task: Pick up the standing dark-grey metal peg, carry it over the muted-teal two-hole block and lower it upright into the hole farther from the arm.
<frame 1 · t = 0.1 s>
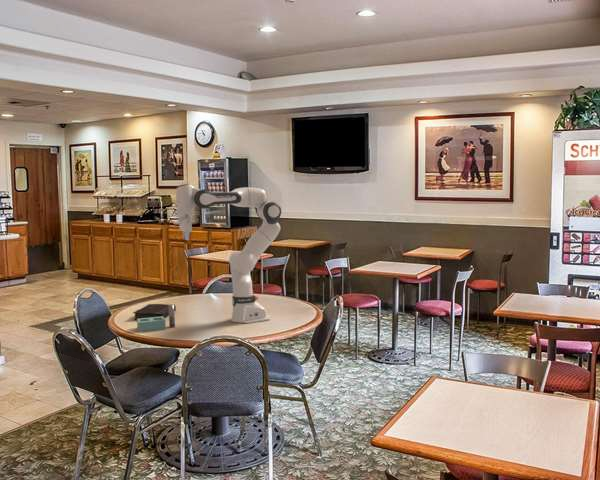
hand: (186, 239, 313), 48 cm above the table, fingers open, 8 cm apart
hole block: (151, 328, 312), on the table
peg: (172, 326, 315), on the table
diary: (154, 316, 344), on the table
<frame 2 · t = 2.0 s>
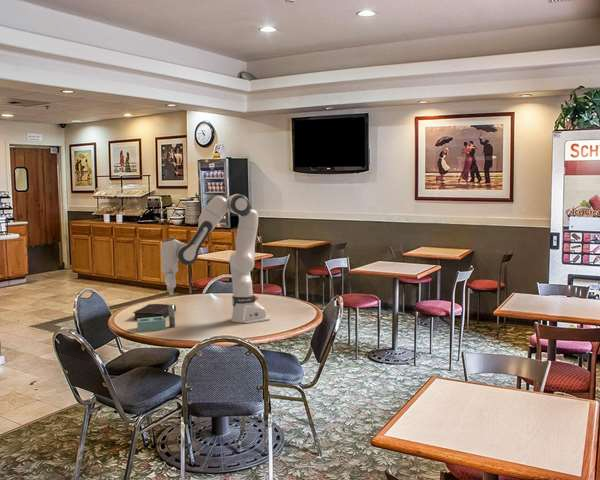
hand: (170, 293, 313), 19 cm above the table, fingers open, 8 cm apart
nothing on the table moved.
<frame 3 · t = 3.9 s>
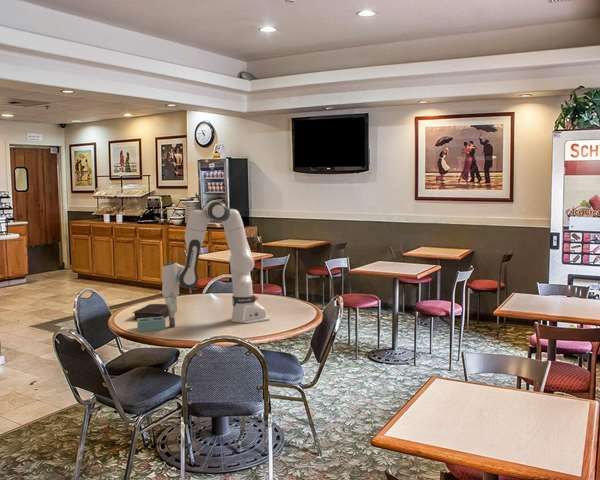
hand: (171, 316, 315), 6 cm above the table, fingers closed on peg, 3 cm apart
peg: (172, 326, 315), on the table, touching gripper
everything else where it was.
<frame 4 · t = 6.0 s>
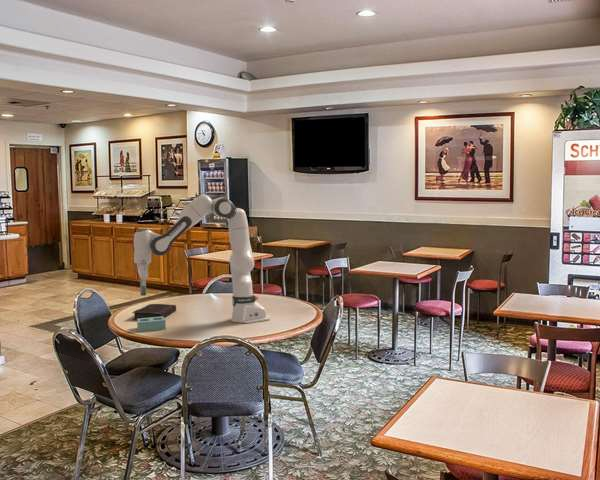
hand: (143, 284, 309), 24 cm above the table, fingers closed on peg, 3 cm apart
peg: (143, 295, 309), point 19 cm above the table, touching gripper
everything else where it was.
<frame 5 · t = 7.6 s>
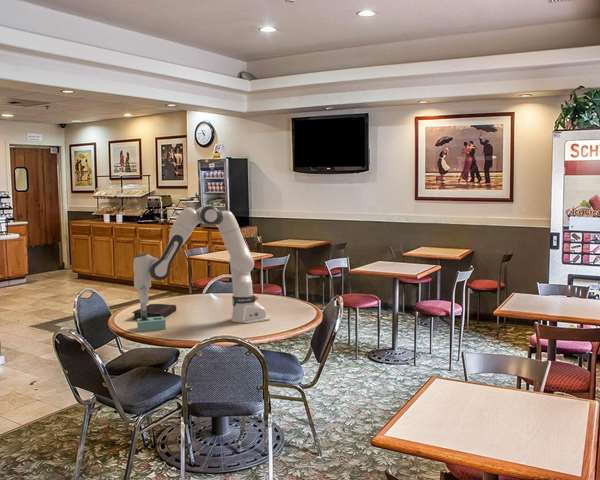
hand: (143, 309, 310), 11 cm above the table, fingers closed on peg, 3 cm apart
peg: (144, 319, 310), point 5 cm above the table, touching gripper
everything else where it was.
when the fingers open (7 cm above the table, at t = 8.6 s): peg drops 1 cm, resting in hole block.
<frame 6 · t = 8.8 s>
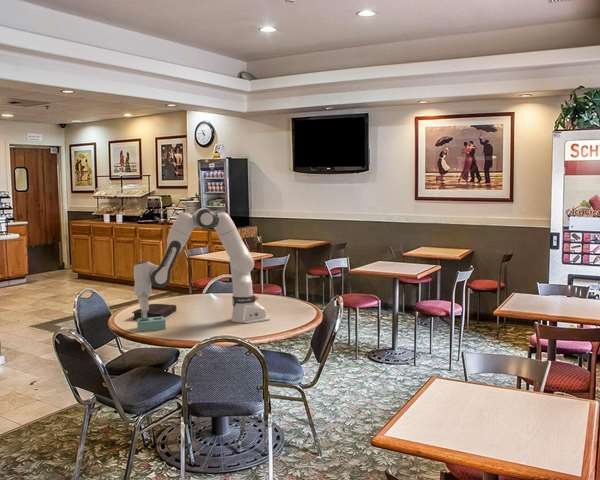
hand: (144, 316, 310), 7 cm above the table, fingers open, 5 cm apart
peg: (144, 329, 311), resting in hole block
everything else where it was.
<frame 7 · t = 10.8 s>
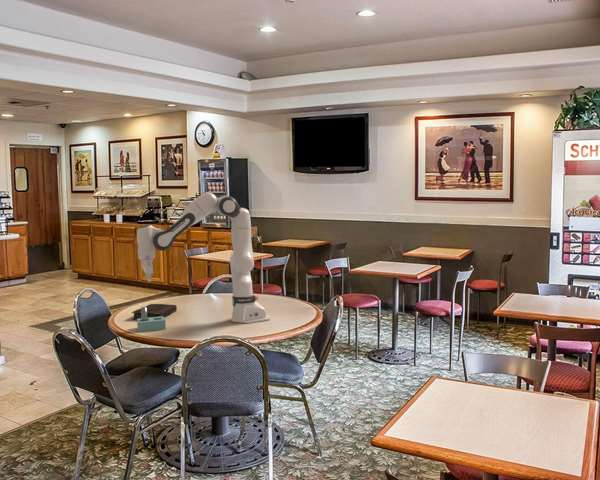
hand: (148, 280, 311), 26 cm above the table, fingers open, 8 cm apart
nothing on the table moved.
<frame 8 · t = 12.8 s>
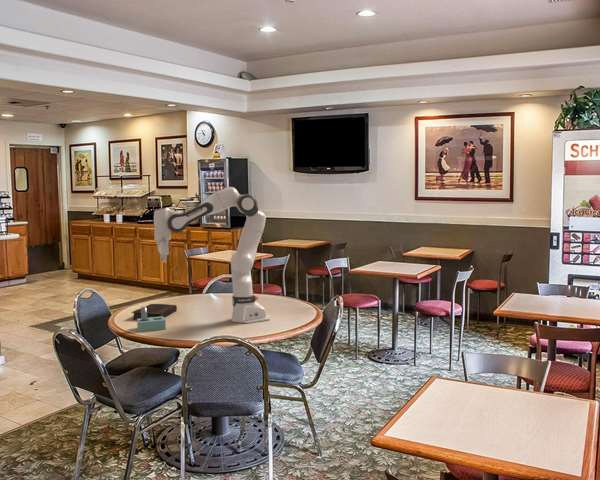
hand: (163, 261, 319), 35 cm above the table, fingers open, 8 cm apart
nothing on the table moved.
at the end: peg 0.0 cm from the target spot on the hole block, point 0.0 cm above the hole block's base; peg tilted 0°; the gripper is holding nothing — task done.
